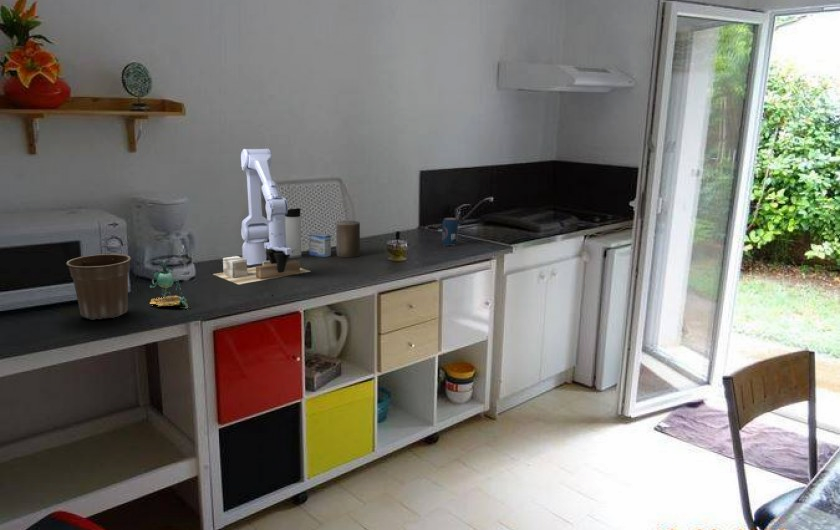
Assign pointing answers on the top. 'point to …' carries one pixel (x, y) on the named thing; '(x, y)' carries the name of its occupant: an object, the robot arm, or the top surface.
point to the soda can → (449, 231)
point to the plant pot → (101, 284)
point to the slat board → (242, 270)
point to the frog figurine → (165, 281)
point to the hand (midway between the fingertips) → (278, 271)
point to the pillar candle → (348, 239)
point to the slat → (272, 270)
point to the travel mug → (293, 232)
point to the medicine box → (319, 245)
